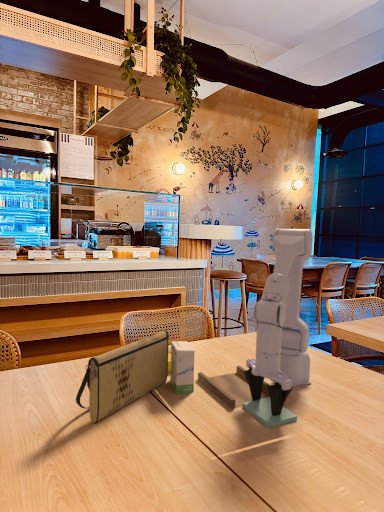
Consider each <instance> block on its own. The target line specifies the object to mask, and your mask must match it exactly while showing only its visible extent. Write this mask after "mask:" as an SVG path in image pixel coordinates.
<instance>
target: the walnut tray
mask: <svg viewBox="0 0 384 512" xmlns="http://www.w3.org/2000/svg"><path fill="white" fill-rule="evenodd" d="M246 370H247V369H246V368H245V367H242V366H241V365H237V366H236V372H232V373H226V374H221V375H214V376H210V377H208V376H207V375H206V374H204V372H201V371H199V372H197V380H198V381H199V382H200V383H201V384H202V385H203V386H205V387H206V388H207V389H208V390H209V391H210V392H212V393H213V395H215V396H216V397H218V399H220V400H221V401H222V402H223V403H225V404H226V405H227V407H229V408H230V409H237V408H240V407H243V403H245V402H249V401H253V400H252V397H251V392H250V387H249V384H248V381H247V379H246V377H245V375H244V371H246ZM270 385H271V384H269V383H267V382H266V381H265V380H264V381H263V386H262V395H261V399H263V398H267V397H270V394H269V391H268V388H267V386H270Z"/></svg>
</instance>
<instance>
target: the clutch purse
mask: <svg viewBox="0 0 384 512" xmlns="http://www.w3.org/2000/svg"><path fill="white" fill-rule="evenodd" d="M169 338H170V335H169V332H168V331H167V330H163V331H159V332H158V333H155V334H153V335H150V336H148V337H144V338H142V339H138V340H137V341H134V342H131V343H128V344H126V345H122V346H119V347H117V348H115V349H112V350H109V351H107V352H104V353H101V354H99V355H96V356H92V357H90V358H89V359H88V363H87V365H85V366H84V367H85V373H84V376H83V378H82V382H81V385H80V387H79V389H78V392H77V393H76V397H75V402H76V405H78V406H79V407H80V408H82V409H87V410H89V418H90V420H91V422H92V423H93V424H97V422H99V421H101V420H102V419H104V418H105V417H107V416H109V415H111V414H112V413H114V412H116V411H117V410H119V409H122V408H123V407H124V406H126V405H128V404H129V403H132V402H133V401H135V400H136V399H138V398H140V397H142V396H143V395H146V394H147V393H149V392H151V391H152V390H154V389H156V388H157V387H159V386H160V385H162V384H164V383H166V382H167V380H168V374H169V373H168V345H169ZM86 385H87V388H88V391H89V397H88V398H89V400H88V402H89V406H88V407H85V406H84V405H82V403H81V398H82V395H83V393H84V390H85V389H86Z"/></svg>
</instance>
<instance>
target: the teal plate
mask: <svg viewBox="0 0 384 512" xmlns="http://www.w3.org/2000/svg"><path fill="white" fill-rule="evenodd" d="M242 408H244V409H245V411H247V412H248V413H249V414H251V415H252V416H253V417H255V418H256V420H258V421H259V422H261V423H262V424H263V425H264V426H265V427H266V428H273V427H277V426H281V425H284V424H288V423H292V422H296V421H298V416H297V415H296V414H295V413H293V412H292V411H290V410H289V409H288V408H287V407H285V406H283V408H282V411H281V414H280V415H276V416H273V415H272V413H271V399H270V397H267V398H263V399H260V400H256V401H249V402H245V403H243V406H242Z"/></svg>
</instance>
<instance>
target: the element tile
mask: <svg viewBox="0 0 384 512" xmlns="http://www.w3.org/2000/svg"><path fill="white" fill-rule="evenodd" d="M170 373H171V345H170V344H168V374H170Z"/></svg>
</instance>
